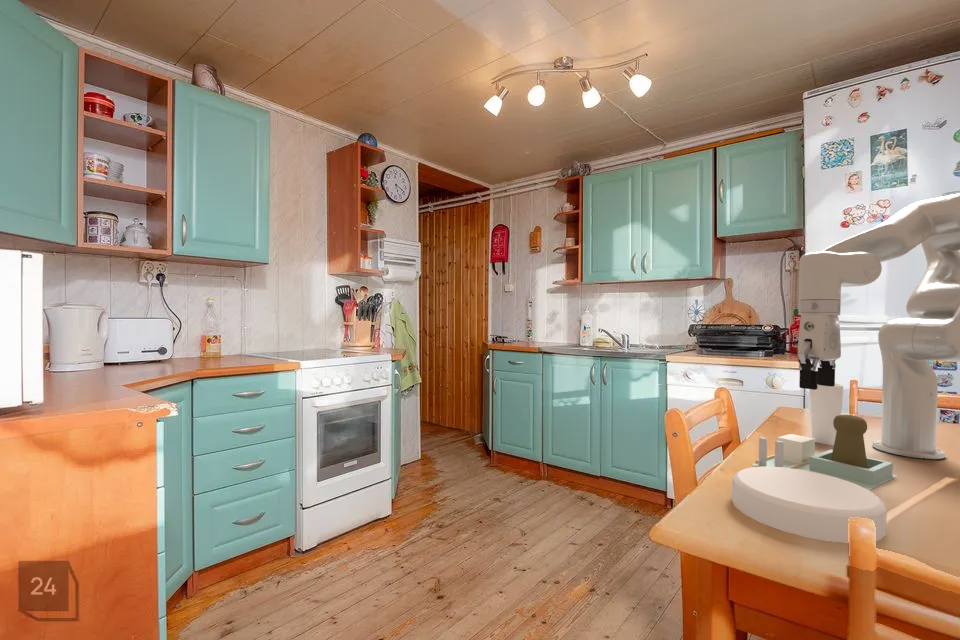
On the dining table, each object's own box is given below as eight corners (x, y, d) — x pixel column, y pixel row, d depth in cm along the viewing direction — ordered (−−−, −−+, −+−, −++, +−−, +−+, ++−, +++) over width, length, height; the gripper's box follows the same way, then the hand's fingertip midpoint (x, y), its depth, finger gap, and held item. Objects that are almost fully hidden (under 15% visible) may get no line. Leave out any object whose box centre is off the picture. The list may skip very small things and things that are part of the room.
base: (793, 456, 103) (793, 427, 103) (897, 481, 88) (898, 447, 88) (751, 470, 94) (752, 437, 94) (860, 501, 79) (861, 461, 78)
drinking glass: (840, 443, 116) (841, 383, 115) (843, 449, 110) (845, 386, 110) (807, 439, 119) (808, 381, 119) (808, 444, 114) (810, 384, 113)
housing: (790, 454, 101) (790, 433, 101) (814, 459, 97) (815, 438, 97) (776, 458, 98) (777, 437, 98) (801, 464, 94) (801, 442, 94)
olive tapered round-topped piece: (876, 478, 86) (878, 420, 86) (840, 475, 88) (841, 418, 87) (856, 468, 92) (857, 413, 92) (822, 465, 94) (824, 411, 93)
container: (905, 560, 60) (906, 524, 60) (730, 523, 70) (731, 493, 70) (867, 505, 77) (868, 478, 77) (732, 482, 87) (732, 458, 87)
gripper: (821, 307, 94) (820, 393, 94) (855, 309, 104) (853, 386, 104) (781, 308, 100) (780, 387, 101) (816, 309, 110) (814, 382, 110)
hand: (817, 386), depth 102 cm, fingers open, 8 cm apart
